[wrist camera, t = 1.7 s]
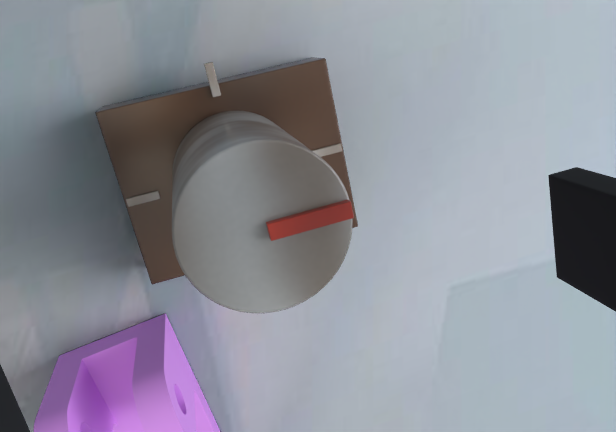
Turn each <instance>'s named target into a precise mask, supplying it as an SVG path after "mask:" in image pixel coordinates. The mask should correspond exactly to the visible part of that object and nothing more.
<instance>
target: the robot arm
mask: <svg viewBox="0 0 616 432" xmlns="http://www.w3.org/2000/svg"><path fill="white" fill-rule="evenodd" d="M549 187H550V199H551V211H552V223H553V235H554V247H555V259H556V271H557V277H558V278H559V279H561V280H563V281H564V282H566V283H568V284H570V285H571V286H573V287H575V288H576V289H578V290H580V291H582V292H583V293H585V294H587V295H588V296H590V297H592V298H594V299H595V300H597V301H599V302H600V303H602V304H604V305H606V306H607V307H609V308H611V309H612V310H614V311H616V178H613V177H610V176H606V175H602V174H599V173H595V172H592V171H588V170H585V169H581V168H577V167H576V168H572V169H569V170H565V171H562V172H558V173H554V174H551V175H549ZM0 432H30V430H29V428H28V426H27V424H26V421H25V419H24V417H23V415H22V412H21V410H20V408H19V406H18V403H17V401H16V399H15V396H14V394H13V392H12V390H11V387H10V385H9V383H8V381H7V378H6V376H5V374H4V372H3V369H2V367H1V365H0Z"/></svg>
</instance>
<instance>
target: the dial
mask: <svg viewBox="0 0 616 432" xmlns="http://www.w3.org/2000/svg"><path fill="white" fill-rule="evenodd" d="M352 218H354V214H353V209H352V204H351V201H350V200H349V197H348V194H347V191H346V189H345V187H344V185H343V183H342V181H341V180H340V178H339V176H338V175H337V174H336V172H335V171H334V170H333V168H332V167H331V166H330V165H329V164H328V163H327V162H326V161H325V160H323V159H322V158H321V157H320V156H318V155H317V154H315V153H314V152H313V151H311V150H310V149H309V148H307V147H306V146H305V145H303V144H302V143H301V142H299V141H298V140H296V139H295V138H294V137H292V136H291V135H290V134H288V133H287V132H286V131H284V130H283V129H281V128H280V127H279V126H277V125H276V124H275V123H273V122H272V121H270V120H269V119H267V118H265V117H263V116H261V115H258V114H255V113H251V112H246V111H227V112H221V113H218V114H215V115H212V116H210V117H208V118H206V119H204V120H203V121H201V122H199V123H198V124H197V125H196V126H194V127H193V128H192V129H191V130H190V131H189V132H188V133H187V134H186V136H185V137H184V139H183V140H182V142H181V143H180V145H179V147H178V149H177V152H176V155H175V158H174V163H173V175H172V239H173V246H174V250H175V254H176V257H177V260H178V262H179V265H180V267H181V269H182V270H183V272H184V274H185V276H186V277H187V278H188V279H189V281H190V282H191V283H192V285H193V286H194V287H195V288H196V289H197V290H198V291H199V292H201V293H202V294H203V295H205V296H206V297H207V298H208V299H210V300H212V301H214V302H215V303H217V304H219V305H221V306H224V307H226V308H229V309H232V310H236V311H240V312H247V313H270V312H276V311H281V310H285V309H288V308H291V307H293V306H296V305H298V304H300V303H302V302H304V301H306V300H308V299H309V298H311V297H312V296H314V295H315V294H316V293H318V292H319V291H320V290H321V289H322V288H323V287H325V285H326V284H327V283H328V282H329V281H330V280H331V279H332V278H333V276H334V275H335V274H336V272H337V271H338V269H339V268H340V266H341V264H342V262H343V261H344V258H345V256H346V253H347V251H348V248H349V244H350V240H351V234H352Z"/></svg>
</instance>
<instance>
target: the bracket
mask: <svg viewBox="0 0 616 432" xmlns="http://www.w3.org/2000/svg"><path fill="white" fill-rule="evenodd" d="M34 432H220V429H219V427H218V425H217V423H216V421H215V419H214V417H213V414H212V412H211V410H210V408H209V406H208V404H207V402H206V399H205V397H204V395H203V393H202V391H201V389H200V387H199V384H198V382H197V380H196V378H195V376H194V374H193V371H192V369H191V367H190V365H189V363H188V361H187V359H186V356H185V354H184V352H183V350H182V348H181V346H180V344H179V341H178V339H177V337H176V335H175V333H174V331H173V328H172V326H171V324H170V322H169V320H168V318H167V316H166V313H165V314H163V315H160V316H158V317H155V318H153V319H150V320H148V321H145V322H143V323H140V324H138V325H135V326H133V327H130V328H127V329H125V330H122V331H120V332H117V333H115V334H112V335H110V336H107V337H105V338H102V339H100V340H97V341H95V342H92V343H90V344H87V345H85V346H82V347H80V348H77V349H75V350H72V351H70V352H67V353H65V354H62V355H60V356H59V357H58V360H57V363H56V365H55V368H54V371H53V373H52V376H51V379H50V381H49V384H48V387H47V389H46V392H45V395H44V397H43V400H42V403H41V405H40V408H39V411H38V413H37V416H36V419H35V423H34Z"/></svg>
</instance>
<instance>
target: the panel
mask: <svg viewBox="0 0 616 432" xmlns="http://www.w3.org/2000/svg"><path fill="white" fill-rule="evenodd" d="M204 66H205V69H206V73H207V77H208V81H209V82H206V83H201V84H197V85H193V86H188V87H184V88H180V89H176V90H171V91H167V92H163V93H158V94H154V95H150V96H146V97H141V98H137V99H133V100H128V101H124V102H120V103H116V104H111V105H107V106H103V107H102V108H100V109H99V110H98V111H97V112H96V116H97V119H98V122H99V125H100V128H101V131H102V134H103V138H104V141H105V144H106V147H107V150H108V153H109V156H110V159H111V162H112V165H113V168H114V171H115V174H116V177H117V180H118V183H119V186H120V189H121V192H122V195H123V198H124V201H125V204H126V207H127V210H128V213H129V216H130V219H131V222H132V225H133V228H134V231H135V235H136V238H137V241H138V244H139V247H140V250H141V253H142V256H143V259H144V262H145V265H146V268H147V271H148V274H149V277H150V280H151V283H152V284H155V283H159V282H162V281H166V280H169V279H173V278H176V277H180V276H184V275H185V274H184V272H183V270H182V269H181V267H180V265H179V262H178V260H177V257H176V254H175V250H174V246H173V239H172V175H173V163H174V158H175V155H176V152H177V149H178V147H179V145H180V143H181V142H182V140H183V139H184V137H185V136H186V134H187V133H188V132H189V131H190V130H191V129H192V128H193V127H194V126H196V125H197V124H198V123H199V122H201V121H203V120H204V119H206V118H208V117H210V116H212V115H215V114H218V113H221V112H227V111H246V112H251V113H255V114H258V115H261V116H263V117H265V118H267V119H269V120H270V121H272V122H273V123H275V124H276V125H277V126H279V127H280V128H281V129H283V130H284V131H286V132H287V133H288V134H290V135H291V136H292V137H294V138H295V139H296V140H298V141H299V142H301V143H302V144H303V145H305V146H306V147H307V148H309V149H310V150H311V151H313V152H314V153H315V154H317V155H318V156H320V157H321V158H322V159H323V160H325V161H326V162H327V163H328V164H329V165H330V166H331V167H332V168H333V170H334V171H335V172H336V174H337V175H338V176H339V178H340V180H341V181H342V183H343V185H344V187H345V189H346V191H347V194H348V197H349V200H350V201H351V204H352V209H353V214H354V218H352V228H354V227H357V226H358V224H357V218H356V213H355V208H354V203H353V198H352V193H351V187H350V182H349V177H348V172H347V167H346V162H345V157H344V151H343V146H342V141H341V136H340V131H339V126H338V121H337V115H336V110H335V105H334V100H333V95H332V90H331V85H330V79H329V74H328V69H327V64H326V59H325V58H308V59H304V60H300V61H295V62H291V63H287V64H283V65H278V66H274V67H270V68H265V69H261V70H257V71H253V72H248V73H244V74H240V75H235V76H231V77H227V78H223V79H218V80H217V77H216V73H215V69H214V65H213V62H210V63H206V64H204Z"/></svg>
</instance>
